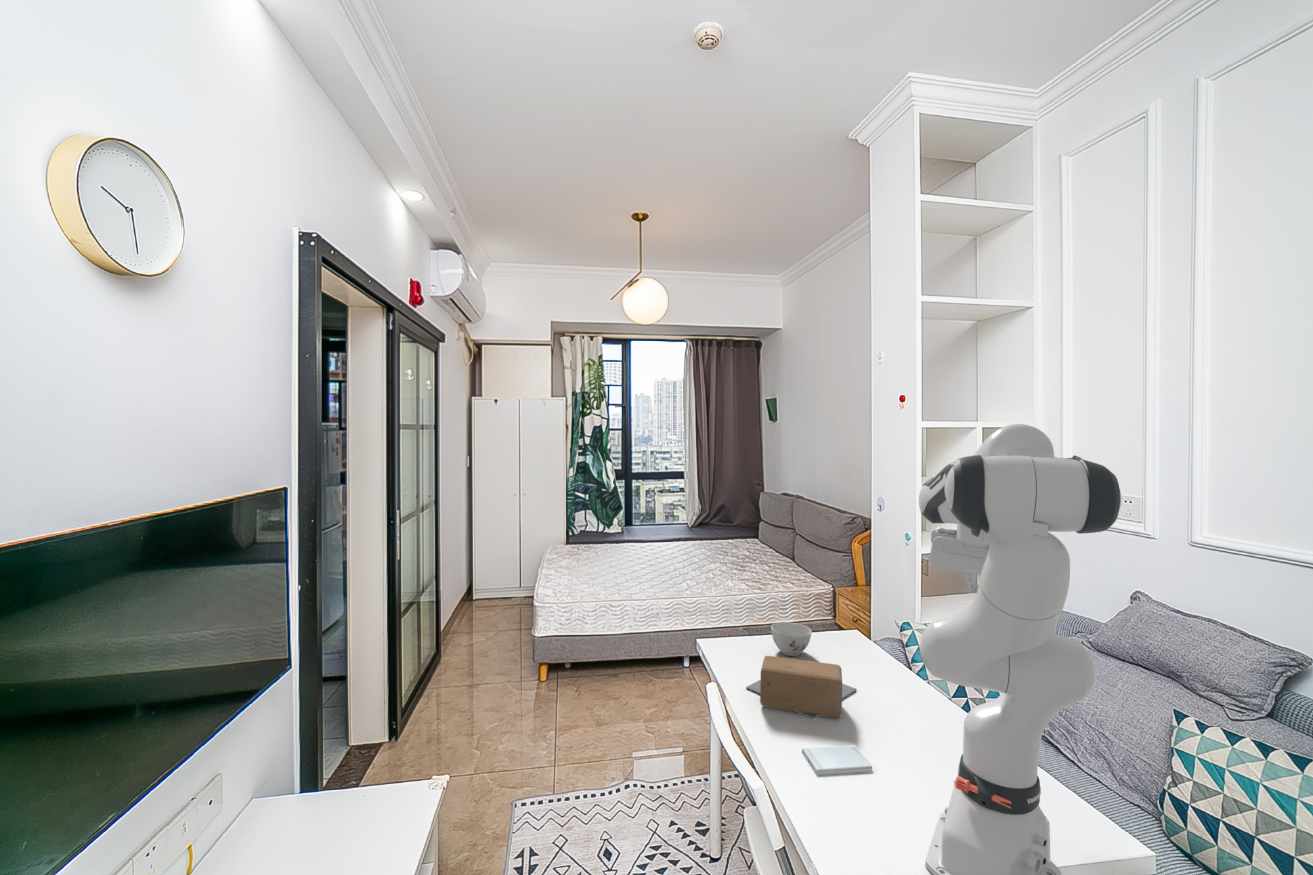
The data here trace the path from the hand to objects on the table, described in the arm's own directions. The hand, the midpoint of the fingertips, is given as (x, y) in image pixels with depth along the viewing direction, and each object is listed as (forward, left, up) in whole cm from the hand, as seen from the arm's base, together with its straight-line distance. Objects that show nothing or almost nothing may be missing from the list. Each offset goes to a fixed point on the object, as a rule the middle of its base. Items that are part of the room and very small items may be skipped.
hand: (976, 593), depth 129 cm
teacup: (+13, +58, -35) cm, 69 cm away
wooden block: (-10, +27, -30) cm, 41 cm away
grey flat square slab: (-7, +41, -35) cm, 54 cm away
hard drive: (-30, +18, -36) cm, 50 cm away
